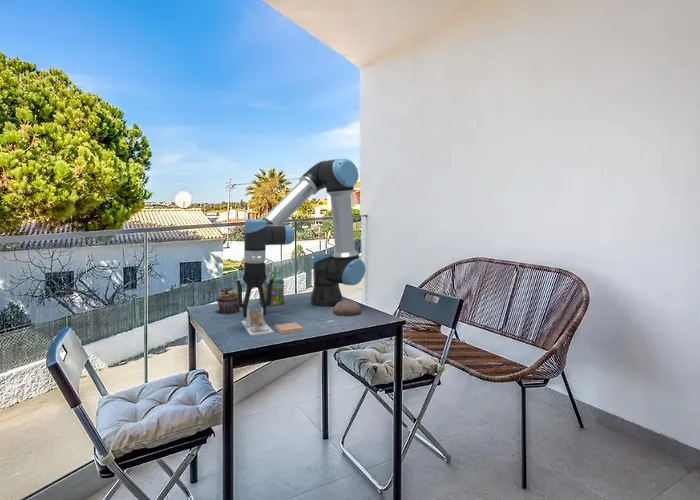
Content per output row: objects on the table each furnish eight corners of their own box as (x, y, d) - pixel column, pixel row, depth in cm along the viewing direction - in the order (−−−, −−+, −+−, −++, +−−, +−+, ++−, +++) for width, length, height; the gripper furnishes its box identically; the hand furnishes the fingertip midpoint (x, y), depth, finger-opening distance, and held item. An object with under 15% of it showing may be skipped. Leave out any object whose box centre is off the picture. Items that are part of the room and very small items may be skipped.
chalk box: (259, 302, 190) (258, 271, 188) (278, 300, 194) (277, 269, 193) (264, 306, 182) (264, 273, 180) (284, 304, 186) (284, 272, 185)
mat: (262, 320, 159) (262, 318, 159) (273, 333, 142) (273, 331, 142) (241, 322, 156) (241, 321, 156) (250, 335, 139) (250, 334, 139)
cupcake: (239, 314, 169) (239, 290, 168) (215, 314, 167) (214, 290, 166) (242, 308, 178) (241, 286, 177) (219, 309, 177) (218, 286, 176)
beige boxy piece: (261, 321, 155) (261, 308, 154) (269, 331, 143) (269, 317, 142) (245, 323, 152) (245, 310, 152) (252, 333, 140) (251, 318, 140)
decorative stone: (332, 310, 177) (331, 297, 177) (359, 309, 178) (359, 297, 178) (333, 317, 165) (333, 303, 165) (362, 316, 167) (362, 303, 166)
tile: (295, 322, 152) (302, 327, 145) (295, 326, 152) (302, 332, 145) (274, 324, 148) (281, 330, 141) (274, 329, 148) (281, 335, 141)
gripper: (231, 263, 140) (231, 330, 142) (281, 262, 147) (280, 325, 149) (228, 261, 147) (228, 324, 149) (276, 260, 154) (275, 320, 156)
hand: (254, 325), depth 149 cm, fingers open, 4 cm apart
